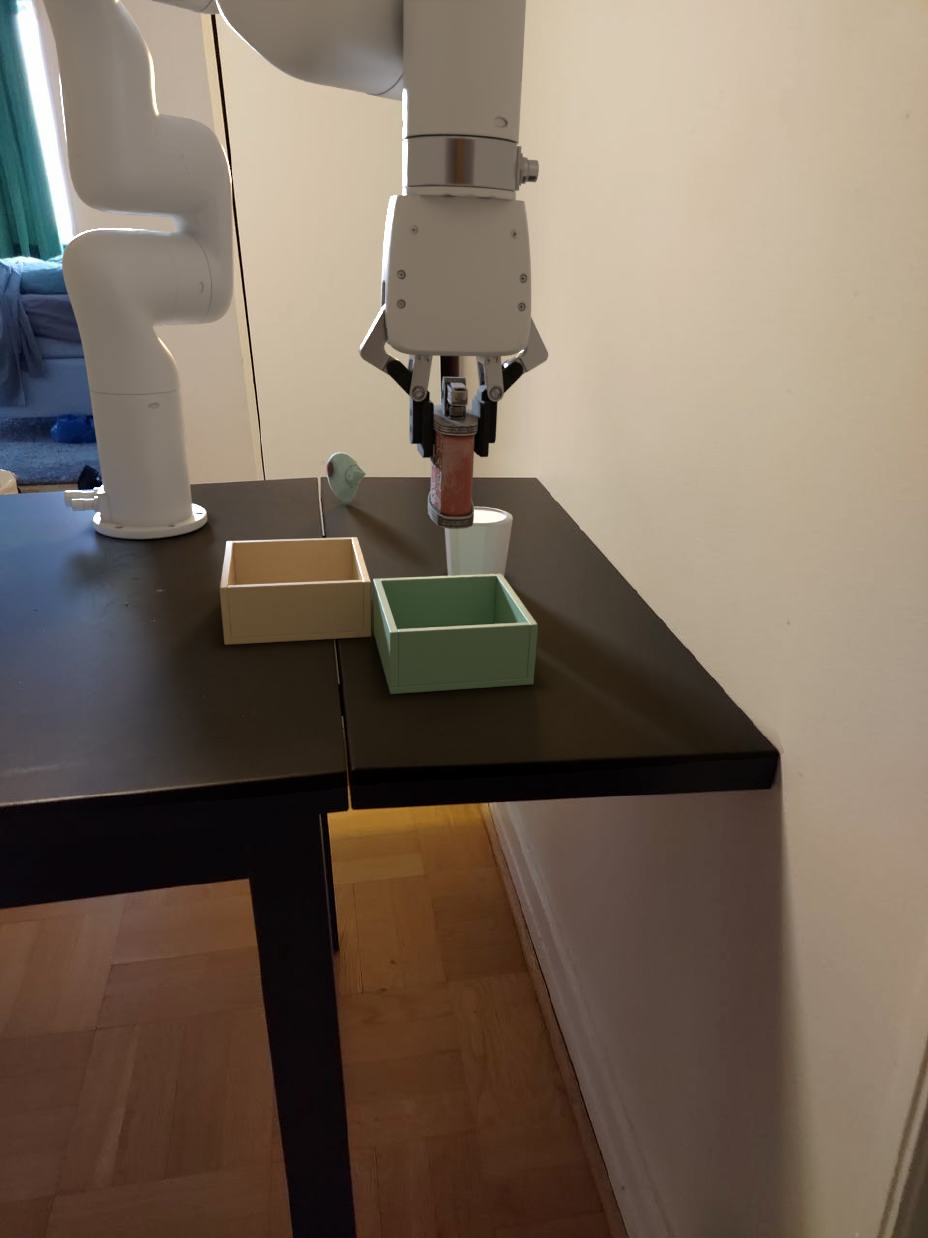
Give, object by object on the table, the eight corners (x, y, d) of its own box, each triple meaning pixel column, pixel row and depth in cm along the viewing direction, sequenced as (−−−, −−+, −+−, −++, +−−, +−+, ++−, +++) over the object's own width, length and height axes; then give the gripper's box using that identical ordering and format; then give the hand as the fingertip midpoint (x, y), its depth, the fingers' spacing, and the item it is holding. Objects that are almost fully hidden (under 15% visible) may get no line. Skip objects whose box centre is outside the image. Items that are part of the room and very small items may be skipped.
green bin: (390, 694, 64) (390, 632, 62) (373, 633, 74) (373, 578, 72) (533, 684, 66) (538, 624, 64) (498, 626, 76) (501, 573, 74)
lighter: (423, 498, 68) (426, 369, 64) (465, 498, 69) (470, 370, 65) (433, 529, 61) (436, 386, 57) (479, 529, 61) (486, 387, 57)
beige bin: (224, 645, 71) (219, 587, 69) (230, 591, 82) (226, 540, 80) (371, 637, 73) (370, 581, 71) (358, 586, 84) (357, 536, 82)
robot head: (371, 509, 109) (370, 457, 106) (341, 513, 107) (340, 460, 104) (345, 494, 115) (344, 444, 112) (317, 497, 113) (315, 447, 110)
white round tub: (503, 596, 83) (507, 527, 80) (434, 589, 84) (436, 521, 81) (513, 573, 89) (517, 508, 86) (449, 566, 90) (451, 502, 87)
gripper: (562, 185, 61) (544, 442, 68) (329, 172, 57) (336, 444, 65) (598, 177, 54) (574, 463, 61) (336, 163, 51) (343, 467, 58)
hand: (452, 450), depth 63 cm, fingers closed on lighter, 3 cm apart
